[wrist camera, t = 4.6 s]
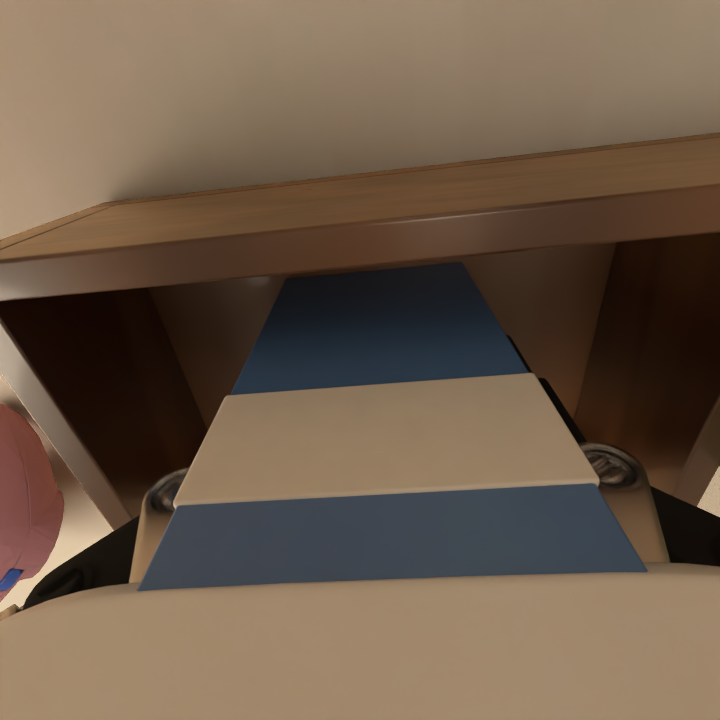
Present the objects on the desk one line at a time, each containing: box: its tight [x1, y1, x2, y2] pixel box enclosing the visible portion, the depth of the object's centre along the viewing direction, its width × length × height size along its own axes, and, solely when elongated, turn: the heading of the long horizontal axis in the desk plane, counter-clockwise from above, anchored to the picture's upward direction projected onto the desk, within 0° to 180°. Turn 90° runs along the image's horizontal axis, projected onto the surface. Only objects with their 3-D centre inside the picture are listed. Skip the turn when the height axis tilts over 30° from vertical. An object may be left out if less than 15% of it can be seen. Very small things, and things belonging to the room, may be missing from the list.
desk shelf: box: [0, 133, 720, 531], centre depth 12 cm, size 23×11×6 cm, turn 96°
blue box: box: [136, 262, 648, 592], centre depth 9 cm, size 6×6×10 cm
